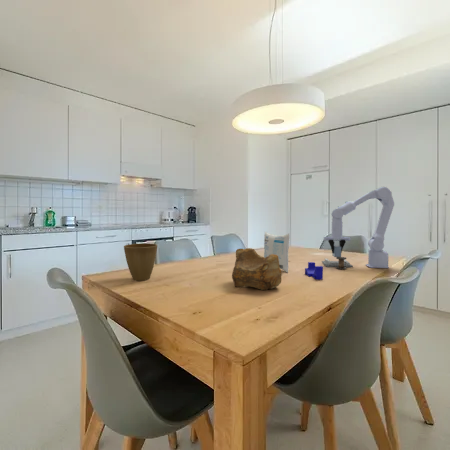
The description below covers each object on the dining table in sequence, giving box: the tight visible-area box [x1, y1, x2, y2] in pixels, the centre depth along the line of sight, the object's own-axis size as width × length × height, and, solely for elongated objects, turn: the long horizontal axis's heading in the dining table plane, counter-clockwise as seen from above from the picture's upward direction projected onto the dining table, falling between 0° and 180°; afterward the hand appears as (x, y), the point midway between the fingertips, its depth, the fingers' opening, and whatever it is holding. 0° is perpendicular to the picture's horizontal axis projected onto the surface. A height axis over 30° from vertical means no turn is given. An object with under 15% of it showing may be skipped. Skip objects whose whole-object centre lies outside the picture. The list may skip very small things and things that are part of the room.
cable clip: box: [304, 261, 324, 281], centre depth 134 cm, size 12×4×6 cm, turn 1°
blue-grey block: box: [331, 244, 342, 258], centre depth 162 cm, size 4×6×6 cm, turn 170°
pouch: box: [263, 231, 290, 274], centre depth 150 cm, size 8×19×20 cm, turn 28°
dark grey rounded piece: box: [335, 256, 347, 271], centre depth 152 cm, size 5×5×6 cm
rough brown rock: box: [231, 247, 282, 291], centre depth 116 cm, size 23×17×15 cm
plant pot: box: [123, 242, 158, 282], centre depth 130 cm, size 15×15×16 cm
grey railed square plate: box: [321, 258, 354, 268], centre depth 163 cm, size 14×14×2 cm
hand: (336, 253), depth 162 cm, fingers closed on blue-grey block, 3 cm apart
